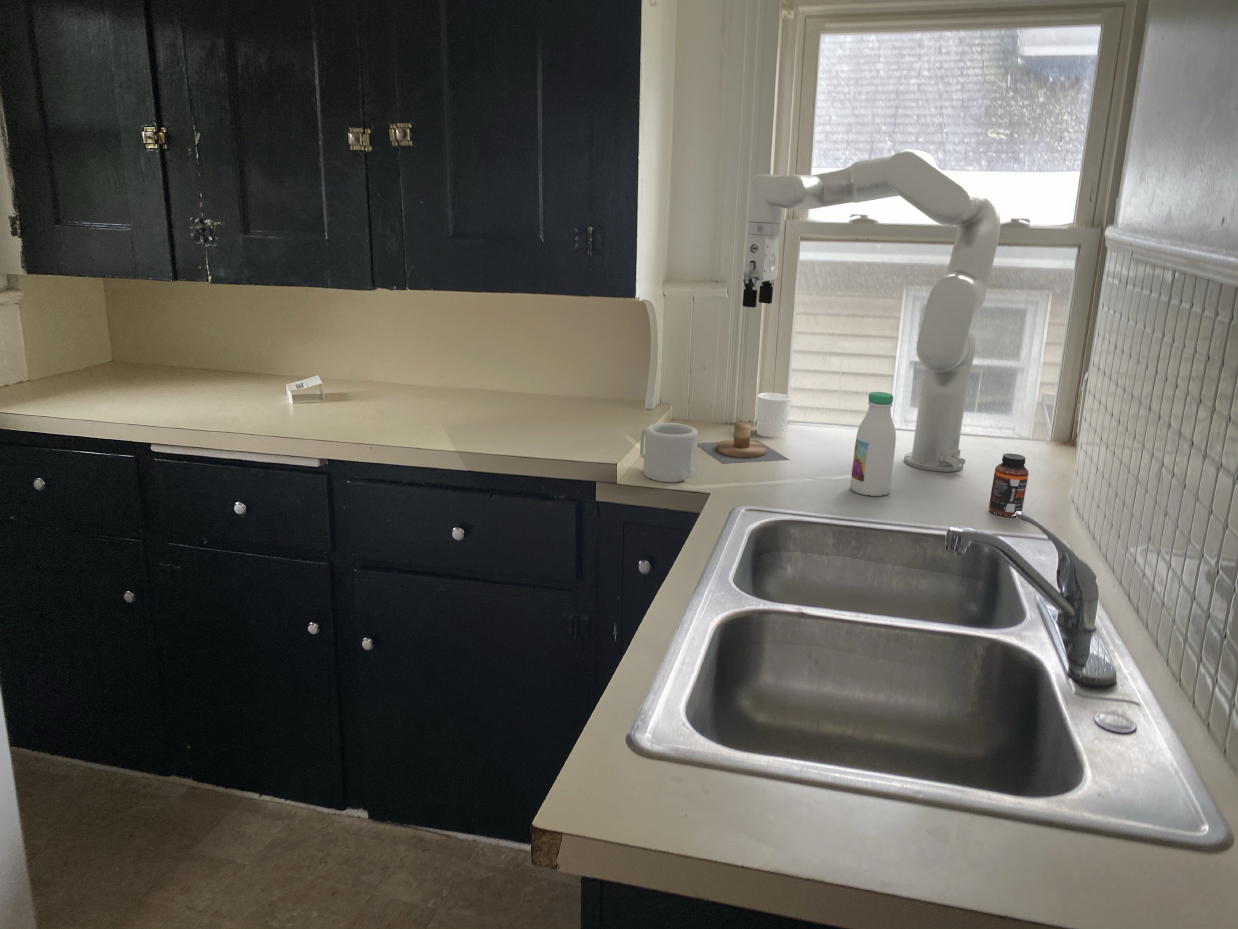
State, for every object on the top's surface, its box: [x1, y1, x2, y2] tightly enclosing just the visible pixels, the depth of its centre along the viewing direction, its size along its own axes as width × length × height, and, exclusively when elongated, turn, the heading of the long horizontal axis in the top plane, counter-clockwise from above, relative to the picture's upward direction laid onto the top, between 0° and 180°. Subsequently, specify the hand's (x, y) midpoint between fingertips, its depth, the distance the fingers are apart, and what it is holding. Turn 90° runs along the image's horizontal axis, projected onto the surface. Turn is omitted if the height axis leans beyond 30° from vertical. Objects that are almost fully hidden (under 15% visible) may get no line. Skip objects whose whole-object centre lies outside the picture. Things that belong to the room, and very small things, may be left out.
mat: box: [697, 439, 791, 465], centre depth 214 cm, size 16×16×1 cm
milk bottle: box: [850, 391, 897, 497], centre depth 190 cm, size 8×8×20 cm
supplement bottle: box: [988, 452, 1029, 518], centre depth 181 cm, size 6×6×11 cm
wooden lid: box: [716, 422, 766, 458], centre depth 213 cm, size 11×11×6 cm
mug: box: [639, 422, 699, 484], centre depth 197 cm, size 14×11×10 cm
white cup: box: [756, 392, 792, 439], centre depth 229 cm, size 8×8×10 cm
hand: (757, 304), depth 226 cm, fingers open, 9 cm apart
